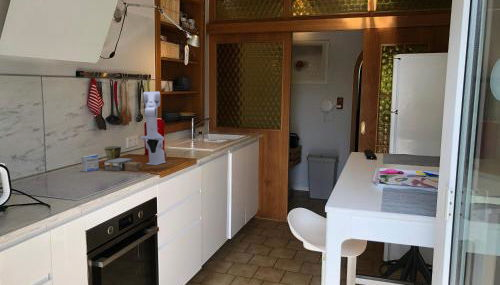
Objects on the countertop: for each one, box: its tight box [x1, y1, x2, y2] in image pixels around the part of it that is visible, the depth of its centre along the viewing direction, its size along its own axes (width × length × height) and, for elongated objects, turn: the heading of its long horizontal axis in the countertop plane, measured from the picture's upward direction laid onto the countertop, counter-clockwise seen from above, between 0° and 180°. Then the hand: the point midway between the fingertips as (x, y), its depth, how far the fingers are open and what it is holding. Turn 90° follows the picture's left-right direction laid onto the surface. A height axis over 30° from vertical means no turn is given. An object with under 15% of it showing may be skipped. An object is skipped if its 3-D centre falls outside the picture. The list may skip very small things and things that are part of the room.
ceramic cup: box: [103, 145, 122, 161], centre depth 263 cm, size 13×10×10 cm
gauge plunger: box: [110, 160, 134, 170], centre depth 244 cm, size 12×9×4 cm
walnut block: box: [124, 161, 143, 172], centre depth 241 cm, size 5×8×4 cm, turn 65°
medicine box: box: [80, 154, 100, 173], centre depth 242 cm, size 8×4×9 cm, turn 143°
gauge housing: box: [104, 157, 134, 172], centre depth 246 cm, size 12×10×5 cm
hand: (153, 152), depth 239 cm, fingers closed
